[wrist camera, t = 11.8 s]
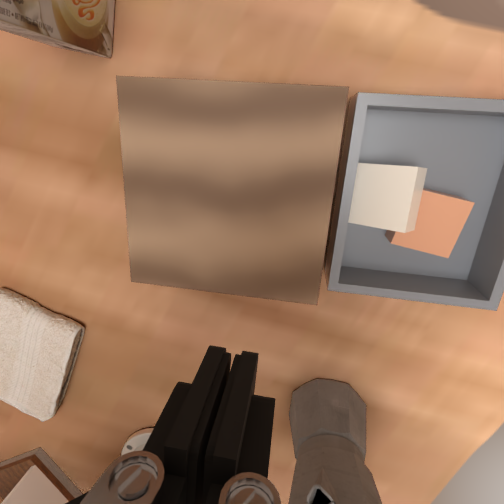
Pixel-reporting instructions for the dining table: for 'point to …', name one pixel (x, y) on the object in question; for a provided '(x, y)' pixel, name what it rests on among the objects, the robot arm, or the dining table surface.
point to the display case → (35, 480)
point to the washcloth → (35, 355)
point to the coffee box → (62, 23)
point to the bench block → (229, 183)
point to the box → (437, 178)
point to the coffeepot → (330, 445)
